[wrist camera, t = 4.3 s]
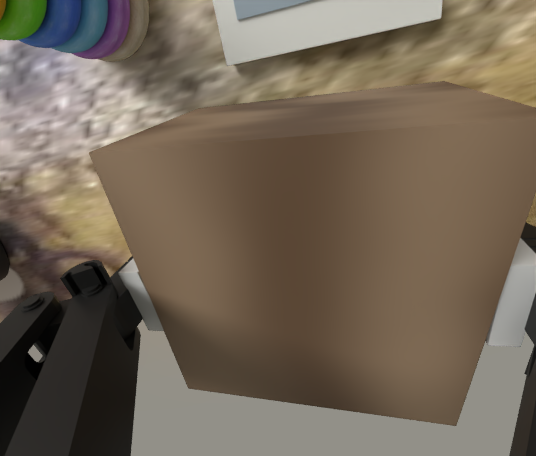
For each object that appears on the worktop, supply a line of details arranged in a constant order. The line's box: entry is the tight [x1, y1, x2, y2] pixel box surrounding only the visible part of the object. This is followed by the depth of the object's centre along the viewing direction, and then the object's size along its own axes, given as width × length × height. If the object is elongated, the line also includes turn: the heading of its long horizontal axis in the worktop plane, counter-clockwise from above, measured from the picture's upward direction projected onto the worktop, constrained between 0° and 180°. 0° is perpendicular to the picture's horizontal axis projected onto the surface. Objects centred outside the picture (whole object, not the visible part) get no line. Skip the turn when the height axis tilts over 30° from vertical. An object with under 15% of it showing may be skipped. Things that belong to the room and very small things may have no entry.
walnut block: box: [89, 81, 536, 426], centre depth 12 cm, size 10×10×7 cm
